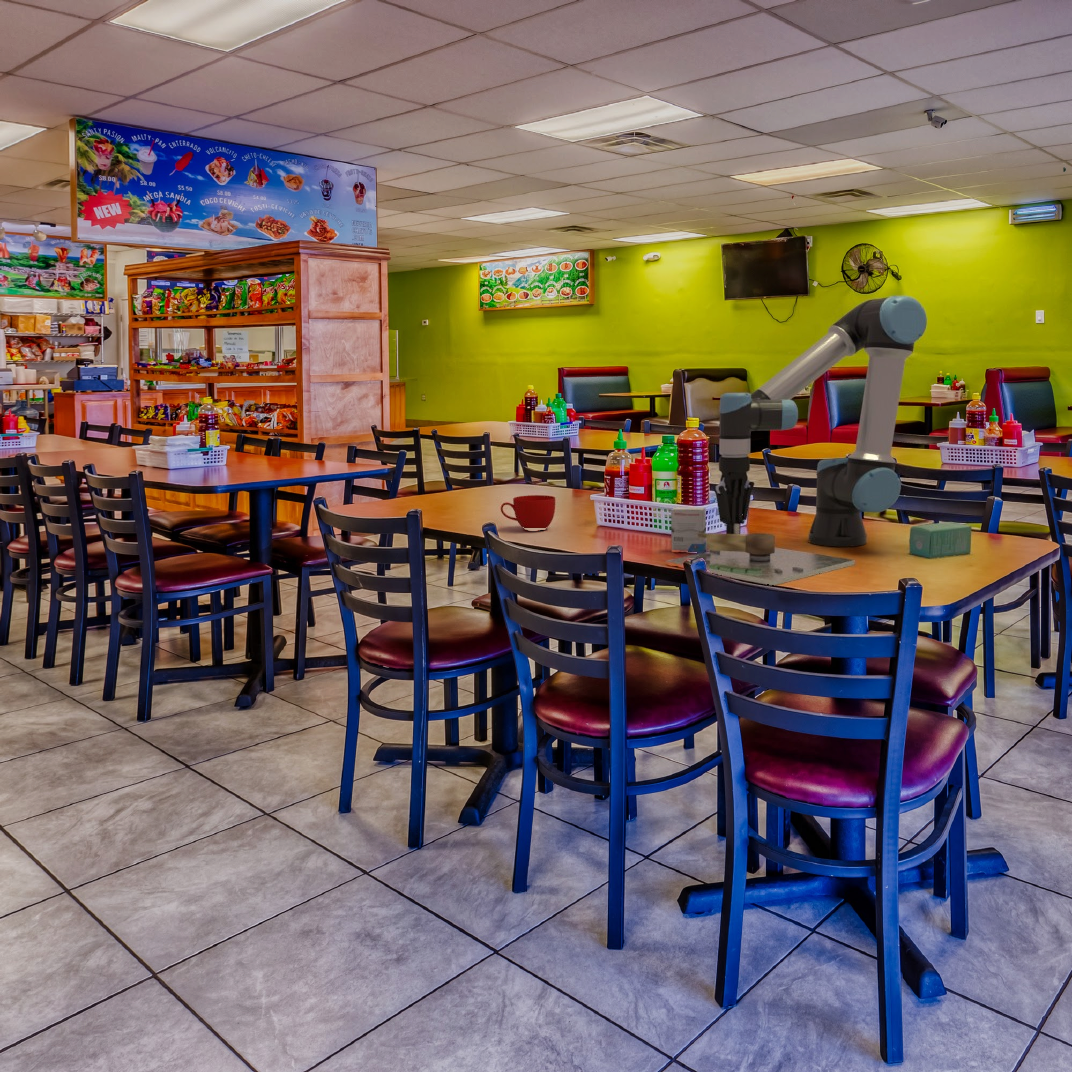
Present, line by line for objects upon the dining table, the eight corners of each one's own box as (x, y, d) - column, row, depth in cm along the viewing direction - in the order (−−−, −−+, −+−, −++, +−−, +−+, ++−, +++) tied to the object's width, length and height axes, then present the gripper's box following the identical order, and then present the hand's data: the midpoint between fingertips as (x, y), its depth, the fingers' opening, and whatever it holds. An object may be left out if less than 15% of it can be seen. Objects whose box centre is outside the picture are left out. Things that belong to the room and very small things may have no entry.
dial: (776, 549, 233) (776, 533, 233) (772, 555, 227) (773, 538, 226) (700, 546, 240) (701, 531, 239) (695, 551, 234) (695, 535, 233)
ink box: (706, 550, 252) (706, 507, 250) (703, 554, 247) (703, 509, 245) (674, 549, 255) (674, 506, 253) (670, 552, 250) (670, 508, 248)
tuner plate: (748, 547, 254) (748, 536, 254) (854, 564, 230) (855, 552, 229) (666, 565, 234) (666, 553, 234) (772, 585, 210) (773, 572, 209)
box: (907, 554, 241) (909, 525, 240) (948, 549, 246) (950, 521, 245) (929, 559, 235) (930, 529, 233) (970, 554, 239) (972, 525, 238)
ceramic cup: (499, 528, 296) (498, 496, 295) (553, 525, 298) (552, 494, 296) (502, 535, 284) (501, 502, 282) (558, 532, 286) (558, 499, 284)
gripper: (740, 453, 241) (738, 544, 245) (705, 456, 233) (704, 550, 237) (763, 454, 235) (761, 547, 239) (728, 458, 227) (727, 554, 231)
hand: (733, 549), depth 238 cm, fingers closed
